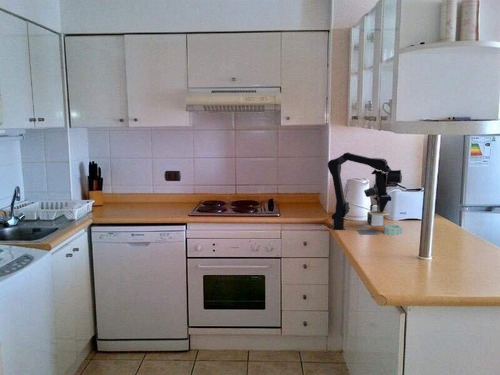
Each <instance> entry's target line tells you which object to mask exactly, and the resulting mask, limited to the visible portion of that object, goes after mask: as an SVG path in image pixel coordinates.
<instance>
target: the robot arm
mask: <svg viewBox="0 0 500 375" xmlns="http://www.w3.org/2000/svg"><path fill="white" fill-rule="evenodd" d="M347 161H349V162H352V163H353V162H354V163H358V164H362V165H366V166H369V167H371V168H372V169H374V170H373V171H372V172H371V175H375V176H374V178H375V179H374V182H375V183H374V184H373V186H372V187H370V188H367V189H364V190H363V192H364V196H365V197H366V198H370V197H372V199H373V200H374V201H375V202H376V204H377V205H379V207H380V212H383V210H384V211H385V208H386V206H387V204H388V203H389V202H391V201H392V196H391V195H390V194H388V192H387V187H388V184H387V182H388V183H389V184H402V182H403V175H402V170H401V169H397V170H396V169H395V170H392V169H391V167H390V166H389V165H388V161H387V159H385V158H379V157H376V158H375V157H374V158H373V157H367V156H363V155H359V154H355V153H351V152H348V151H347V152H345V153H343V154H342V155H340V156H338V157H336V158H333V159H330V160H329V161H328V162H327V167H328V171H329V173H330V174H331V177H332V181H333V189H334V192H335V193H334V194H335V201H336V202H335V212H334V213H332V214H331V219H332V220H333V222H332V223H333V224H332V227H331V229H333V231H346V228H345V217H346V215H348V214H349V212H350V202H348V201H346V199H345V195H344V188H343V185H342V184H343V183H342V176H341V173H342V165H343V164H344V163H346V162H347Z"/></svg>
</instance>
